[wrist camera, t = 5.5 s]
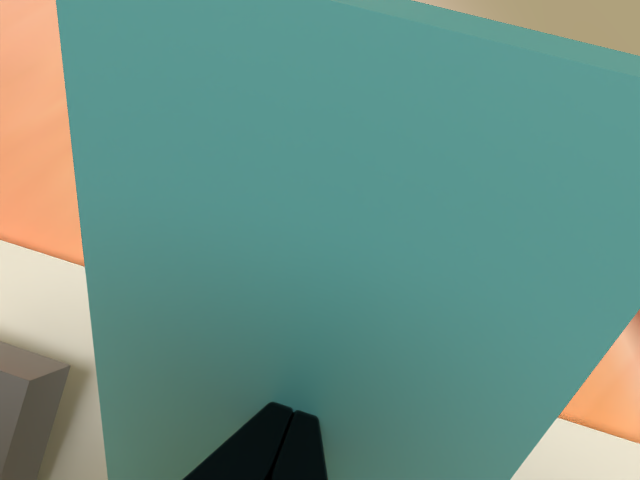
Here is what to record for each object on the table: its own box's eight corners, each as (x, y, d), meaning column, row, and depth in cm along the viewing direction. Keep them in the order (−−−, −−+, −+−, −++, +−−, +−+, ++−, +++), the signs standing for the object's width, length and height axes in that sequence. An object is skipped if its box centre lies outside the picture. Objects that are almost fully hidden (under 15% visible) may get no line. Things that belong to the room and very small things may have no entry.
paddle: (395, 637, 11) (800, 116, 4) (109, 531, 12) (38, -72, 5) (401, 568, 12) (719, 75, 5) (142, 474, 13) (125, -71, 6)
